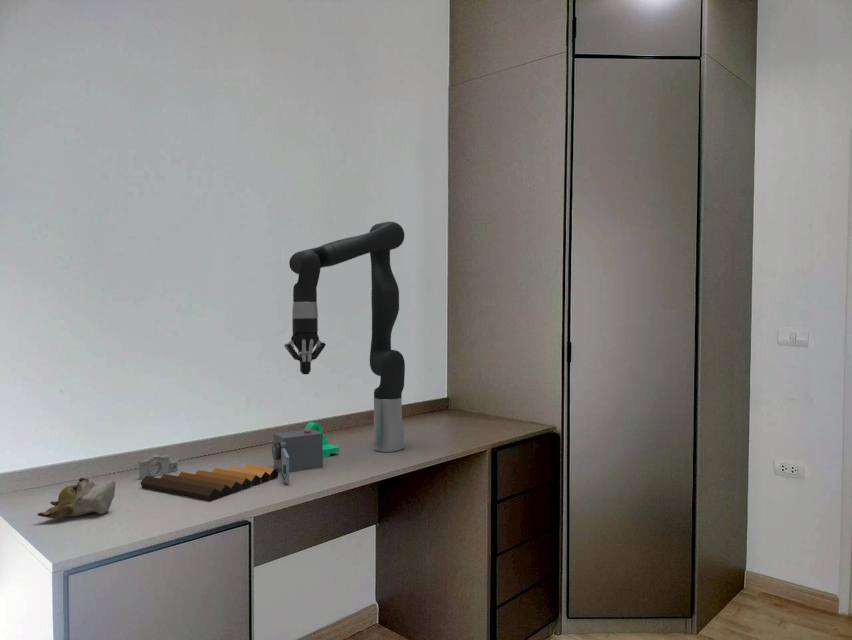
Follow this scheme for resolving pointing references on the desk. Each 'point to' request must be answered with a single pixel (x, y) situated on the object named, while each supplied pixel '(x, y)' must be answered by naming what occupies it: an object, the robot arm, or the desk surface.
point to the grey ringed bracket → (162, 463)
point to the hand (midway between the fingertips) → (305, 374)
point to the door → (285, 464)
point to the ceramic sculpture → (82, 499)
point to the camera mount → (326, 446)
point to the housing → (299, 449)
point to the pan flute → (211, 482)
